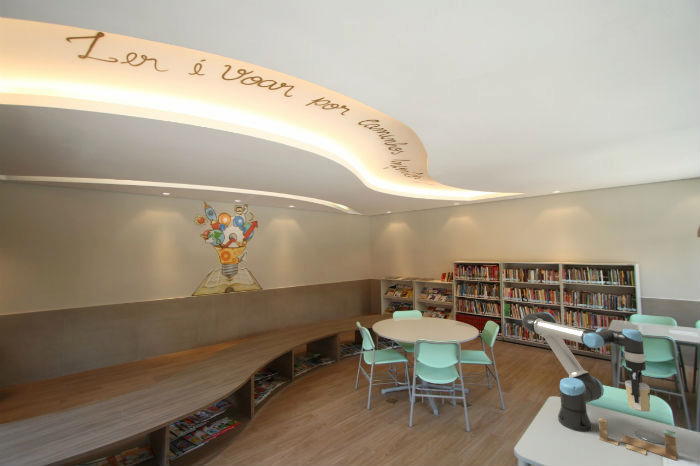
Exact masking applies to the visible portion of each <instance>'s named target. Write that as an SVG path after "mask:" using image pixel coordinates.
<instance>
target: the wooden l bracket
mask: <svg viewBox="0 0 700 466" xmlns="http://www.w3.org/2000/svg"><path fill="white" fill-rule="evenodd" d="M663 435H664V438H665V444H664V447H663V446H661V445H659V444H658V445H657V444H656V443H652V442H649V441H646V440H643V439H639V438H635V437H632V436H629V435H626V434H622V435H621V441H620V442H621V443H622V444H625V445H626V444H629V445H632V446H635V447H638V448H641V449H644V450H646V452H650V453H652V454H655V455H659V456H662V457H665V458H668V459H671V460H673V461H677V458H678V451H677V439H676V438H677V433H676V432H675V431H672V430H669V429H665V428H664V429H663Z"/></svg>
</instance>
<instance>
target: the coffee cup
mask: <svg viewBox="0 0 700 466" xmlns="http://www.w3.org/2000/svg"><path fill="white" fill-rule="evenodd" d="M624 385H625V391H626V396H627V402H628V406H629V408H631V409H633V410H634V411H639V412H643V413H644V412H645V413H647V412H648V413H649V412H650V411H651V406H650V405H651V402H650V400H651V399H650V397H651V396H650V395H651V394H650V393H651V392H650V391H651V388H650V386H649V385H648V384H647V383H645V382H643V383H642V382H641V383H639V392H640V398H641V408H642V410H638V409H634V403H633V395H631V394H632V386H631V379H630V380H625V382H624ZM636 394H637V393H636Z"/></svg>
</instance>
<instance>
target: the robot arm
mask: <svg viewBox="0 0 700 466" xmlns="http://www.w3.org/2000/svg"><path fill="white" fill-rule="evenodd" d="M521 324H522V326H523V328H524V329H525V330H526V331H528V332H530V333H534V334H538V335H539V336H540V337H542V338H544V339H545V341H546V343H547V344H548V346H549V347H550V348H551V351H552V352H553V353H554V354H555V356H556V358H557V359H558V360H559V362H560V364H561V365H562V367H563V368H564V370H565V372H566V373H567V374H568V377H564V378H562V379H561V380H560V381H559V390H560V391H559V393H560V394H559V395H560V396H559V397H560V409H559V412H558V415H557V420H558V422H559V423H560V424H561V425H562V426H564V427H566V428H568V429H570V430H572V431H573V430H574V431H578V432H590V431H592V429H593V428H592V427H593V426H592V421H591V419H590V417H589V415H588V411H587V403H590V402H593V401H596V400H599V399H600V398H602V397H603V396H604V394H605V393H604V392H605V388H604V386H603V384H602V382H601V381H600V380H599V379H598V378H597V377H594V376H592V374H591V373H590V372H589V371H587V370H585V369H584V368H583V367H582V365H581V364H580V363H579V361H578V360H577V358H576V357H575V355H574V354H573V353H572V351H571V349H570V348H569V347H568V345H567V344H566V343H565V341H564V340H568V341H572V342H576V343H579V344H583V345H585V346H587V348H591V349H599V348H602V347H606V346H607V347H608V346H611V345H614V346H618V347H623V351H624V359H625V361H624V363H625V368H627V369H630V370H631V371H630V374H629V375H630V380H631V386H632V394H631V395H633V403H634V409H633V410H635V409H638V410H642V408H641V398H640V392H639V383H641V382H642V383H644V382H643V373H642V371H645V370H647V369H646V368H647V367H646V362H645V360H646V359H645V358H647V355H645V350H644V339H643V333H642V331H640V330H638V329H634V328H623V329H622V331H618V330H615V329H614V330H612V329H608V328H600V327H599V328H597V329H596V330H595V331H591V330H586V329H582V328H577V327H573V326H569V325H565V324H559V323H557V320H556V318H555V317H554V316H553V315H552V314H551V313H549V312H547V311H546V312H545V311H538V312H533V313H527V314H525V315H524V316H523V318H522V321H521ZM563 339H564V340H563ZM636 393H637V394H636ZM638 410H637V411H638Z"/></svg>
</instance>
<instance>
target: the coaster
mask: <svg viewBox="0 0 700 466" xmlns="http://www.w3.org/2000/svg"><path fill="white" fill-rule="evenodd" d="M634 434H635V436H637V437H639V438H640V439H641V440H643V441H645V442H648V443H651V444H655V445H657V444H658V445H665V436H663V435H661V434H659V433H657V432H654V431H651V430H648V429H644V428H643V429H642V428H639V429H637V428H636V429H635V430H634Z"/></svg>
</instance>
